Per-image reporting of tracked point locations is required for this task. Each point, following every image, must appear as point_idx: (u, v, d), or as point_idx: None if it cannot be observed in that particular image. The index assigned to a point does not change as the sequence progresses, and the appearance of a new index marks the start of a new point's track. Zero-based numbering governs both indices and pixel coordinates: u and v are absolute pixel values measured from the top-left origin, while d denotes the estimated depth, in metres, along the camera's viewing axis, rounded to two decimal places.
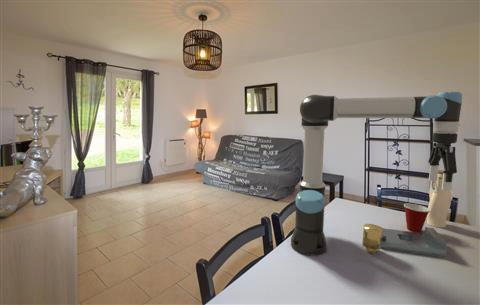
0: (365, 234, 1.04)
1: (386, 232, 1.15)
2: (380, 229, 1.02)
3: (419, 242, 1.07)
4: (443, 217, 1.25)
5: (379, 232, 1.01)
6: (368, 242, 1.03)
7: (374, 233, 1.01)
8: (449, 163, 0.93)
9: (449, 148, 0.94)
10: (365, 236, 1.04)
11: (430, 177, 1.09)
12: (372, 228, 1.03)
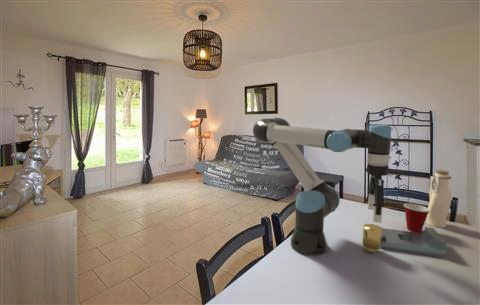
0: (365, 234, 1.04)
1: (386, 232, 1.15)
2: (380, 229, 1.02)
3: (419, 242, 1.07)
4: (443, 217, 1.25)
5: (379, 232, 1.01)
6: (368, 242, 1.03)
7: (374, 233, 1.01)
8: (377, 197, 0.94)
9: (378, 181, 0.95)
10: (365, 236, 1.04)
11: (369, 206, 1.10)
12: (372, 228, 1.03)
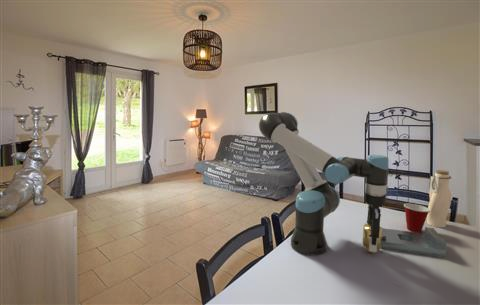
0: (365, 234, 1.04)
1: (386, 232, 1.15)
2: (380, 229, 1.02)
3: (419, 242, 1.07)
4: (443, 217, 1.25)
5: (379, 232, 1.01)
6: (368, 242, 1.03)
7: None
8: (373, 229, 0.98)
9: (375, 215, 0.97)
10: (365, 236, 1.04)
11: None
12: None
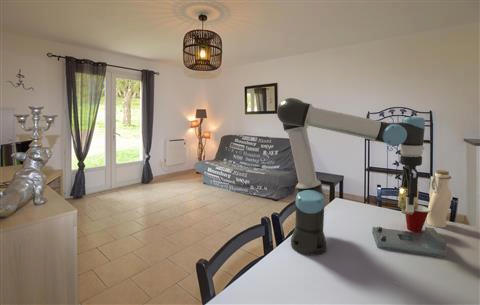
0: (401, 196, 1.06)
1: (386, 232, 1.15)
2: (417, 190, 1.05)
3: (419, 242, 1.07)
4: (443, 217, 1.25)
5: None
6: (405, 203, 1.05)
7: None
8: (411, 188, 1.00)
9: (413, 174, 0.99)
10: (401, 197, 1.06)
11: None
12: None
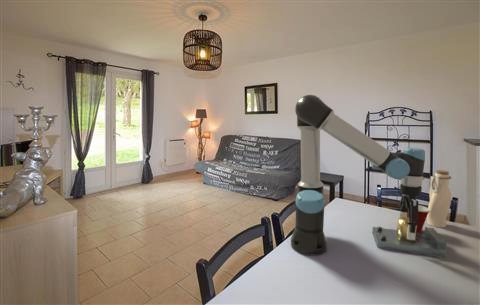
0: (400, 227, 1.09)
1: (386, 232, 1.15)
2: None
3: (419, 242, 1.07)
4: (443, 217, 1.25)
5: None
6: (403, 234, 1.08)
7: None
8: (412, 216, 1.01)
9: (413, 202, 1.02)
10: (400, 228, 1.09)
11: None
12: (408, 221, 1.09)
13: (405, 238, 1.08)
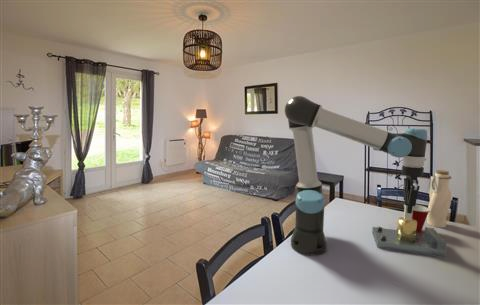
0: (400, 227, 1.09)
1: (386, 232, 1.15)
2: (415, 222, 1.08)
3: (419, 242, 1.07)
4: (443, 217, 1.25)
5: (414, 224, 1.07)
6: (403, 234, 1.08)
7: (410, 226, 1.06)
8: (410, 199, 1.04)
9: (414, 188, 1.02)
10: (400, 228, 1.09)
11: None
12: (408, 221, 1.09)
13: (405, 238, 1.08)
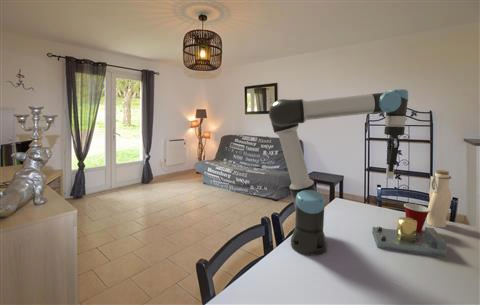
0: (400, 227, 1.09)
1: (386, 232, 1.15)
2: (415, 222, 1.08)
3: (419, 242, 1.07)
4: (443, 217, 1.25)
5: (414, 224, 1.07)
6: (403, 234, 1.08)
7: (410, 226, 1.06)
8: (391, 157, 1.09)
9: (394, 145, 1.07)
10: (400, 228, 1.09)
11: None
12: (408, 221, 1.09)
13: (405, 238, 1.08)
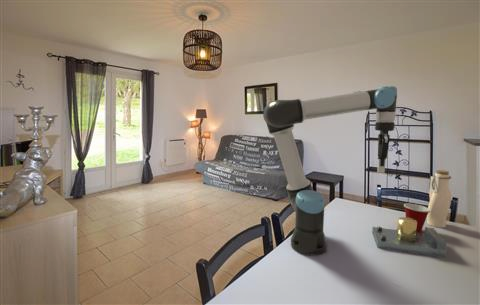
0: (400, 227, 1.09)
1: (386, 232, 1.15)
2: (415, 222, 1.08)
3: (419, 242, 1.07)
4: (443, 217, 1.25)
5: (414, 224, 1.07)
6: (403, 234, 1.08)
7: (410, 226, 1.06)
8: (382, 151, 1.13)
9: (384, 140, 1.10)
10: (400, 228, 1.09)
11: None
12: (408, 221, 1.09)
13: (405, 238, 1.08)
